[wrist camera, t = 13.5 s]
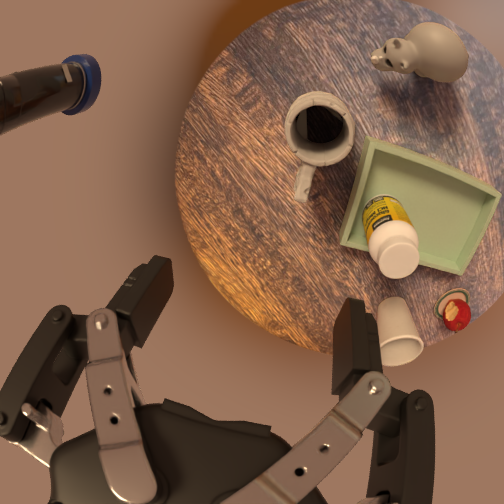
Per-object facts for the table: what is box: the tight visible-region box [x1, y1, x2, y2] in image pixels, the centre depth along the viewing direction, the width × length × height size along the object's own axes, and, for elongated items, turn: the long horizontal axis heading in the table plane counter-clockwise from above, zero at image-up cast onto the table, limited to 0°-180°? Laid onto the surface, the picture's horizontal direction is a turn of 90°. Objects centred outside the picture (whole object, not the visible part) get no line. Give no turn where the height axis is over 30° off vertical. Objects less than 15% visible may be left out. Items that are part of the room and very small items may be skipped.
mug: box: [285, 92, 355, 203], centre depth 26 cm, size 8×12×12 cm, turn 168°
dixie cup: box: [377, 297, 424, 366], centre depth 40 cm, size 8×8×10 cm
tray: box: [339, 136, 502, 276], centre depth 31 cm, size 22×15×3 cm
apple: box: [434, 288, 471, 333], centre depth 37 cm, size 8×8×6 cm
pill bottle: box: [362, 194, 420, 279], centre depth 30 cm, size 6×6×11 cm
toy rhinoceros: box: [371, 22, 469, 82], centre depth 19 cm, size 7×12×8 cm, turn 111°
